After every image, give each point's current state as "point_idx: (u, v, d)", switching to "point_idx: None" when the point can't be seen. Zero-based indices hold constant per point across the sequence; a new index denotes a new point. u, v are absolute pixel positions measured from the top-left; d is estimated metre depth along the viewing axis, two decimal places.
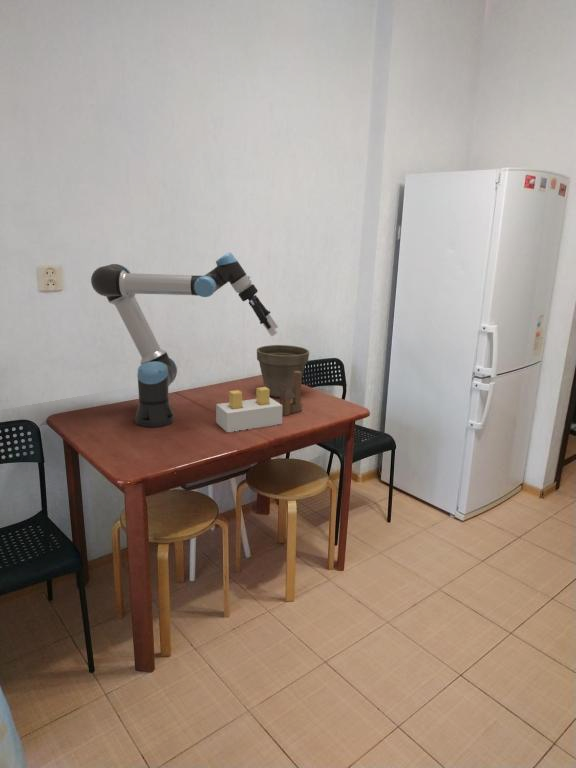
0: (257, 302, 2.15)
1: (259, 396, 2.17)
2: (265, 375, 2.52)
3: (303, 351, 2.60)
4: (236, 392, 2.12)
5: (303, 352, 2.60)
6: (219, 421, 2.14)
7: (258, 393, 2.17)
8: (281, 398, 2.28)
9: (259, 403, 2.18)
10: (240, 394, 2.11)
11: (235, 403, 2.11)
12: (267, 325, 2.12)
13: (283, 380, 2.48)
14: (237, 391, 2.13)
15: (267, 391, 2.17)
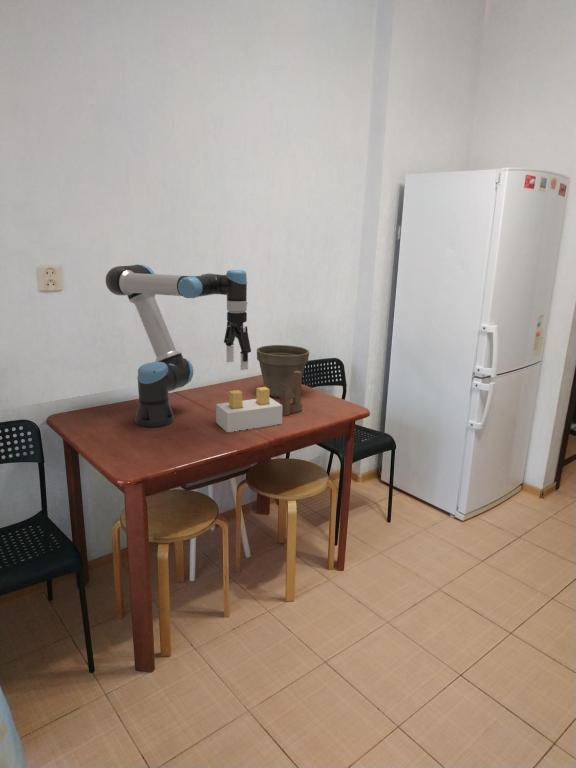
0: None
1: (259, 396, 2.17)
2: (265, 375, 2.52)
3: (303, 351, 2.60)
4: (236, 392, 2.12)
5: (303, 352, 2.60)
6: (219, 421, 2.14)
7: (258, 393, 2.17)
8: (281, 398, 2.28)
9: (259, 403, 2.18)
10: (240, 394, 2.11)
11: (235, 403, 2.11)
12: (245, 358, 2.02)
13: (283, 380, 2.48)
14: (237, 391, 2.13)
15: (267, 391, 2.17)
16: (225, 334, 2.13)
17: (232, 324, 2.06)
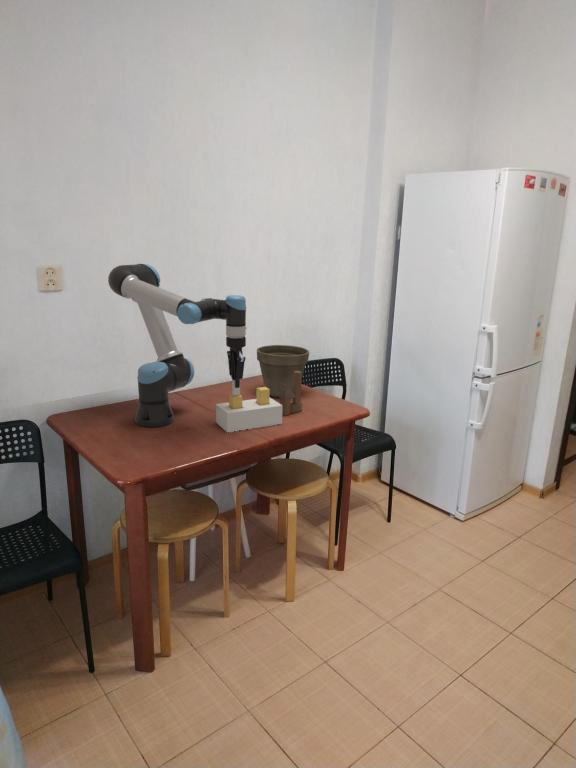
0: None
1: (259, 396, 2.17)
2: (265, 375, 2.52)
3: (303, 351, 2.60)
4: (236, 395, 2.12)
5: (303, 352, 2.60)
6: (219, 421, 2.14)
7: (258, 393, 2.17)
8: (281, 398, 2.28)
9: (259, 403, 2.18)
10: (240, 397, 2.12)
11: (235, 407, 2.12)
12: (237, 384, 2.10)
13: (283, 380, 2.48)
14: None
15: (267, 391, 2.17)
16: None
17: None
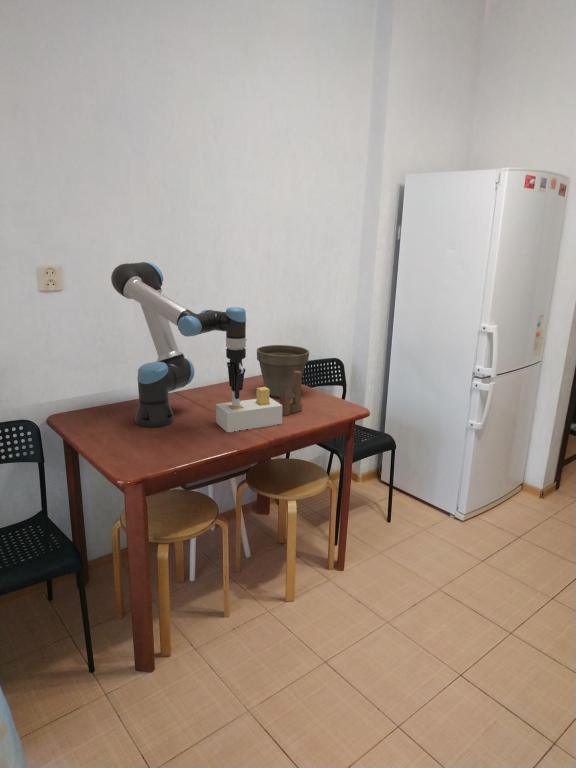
0: None
1: (259, 396, 2.17)
2: (265, 375, 2.52)
3: (303, 351, 2.60)
4: (236, 406, 2.14)
5: (303, 352, 2.60)
6: (219, 421, 2.14)
7: (258, 393, 2.17)
8: (281, 398, 2.28)
9: (259, 403, 2.18)
10: None
11: None
12: (237, 395, 2.11)
13: (283, 380, 2.48)
14: None
15: (267, 391, 2.17)
16: None
17: None
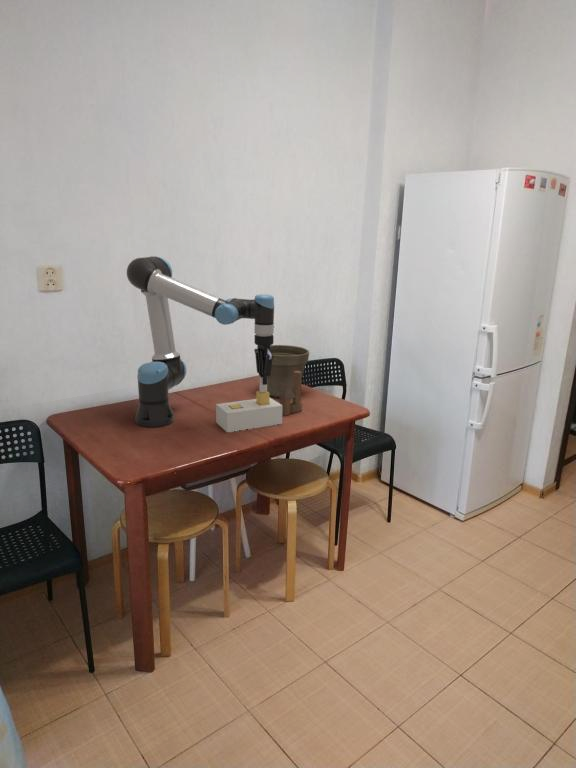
0: None
1: (259, 399, 2.17)
2: None
3: (303, 351, 2.60)
4: (236, 406, 2.14)
5: (303, 352, 2.60)
6: (219, 421, 2.14)
7: (258, 397, 2.18)
8: (281, 398, 2.28)
9: None
10: None
11: None
12: (265, 381, 2.15)
13: (283, 380, 2.48)
14: (237, 405, 2.15)
15: (267, 394, 2.17)
16: (256, 363, 2.18)
17: (258, 344, 2.14)
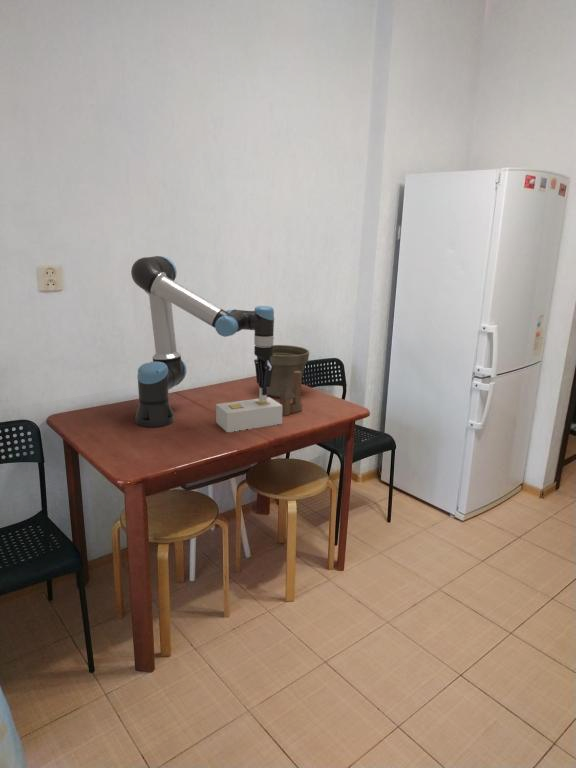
0: None
1: None
2: None
3: (303, 351, 2.60)
4: (236, 406, 2.14)
5: (303, 352, 2.60)
6: (219, 421, 2.14)
7: None
8: (281, 398, 2.28)
9: None
10: None
11: None
12: (265, 391, 2.16)
13: (283, 380, 2.48)
14: (237, 405, 2.15)
15: None
16: (256, 374, 2.19)
17: None
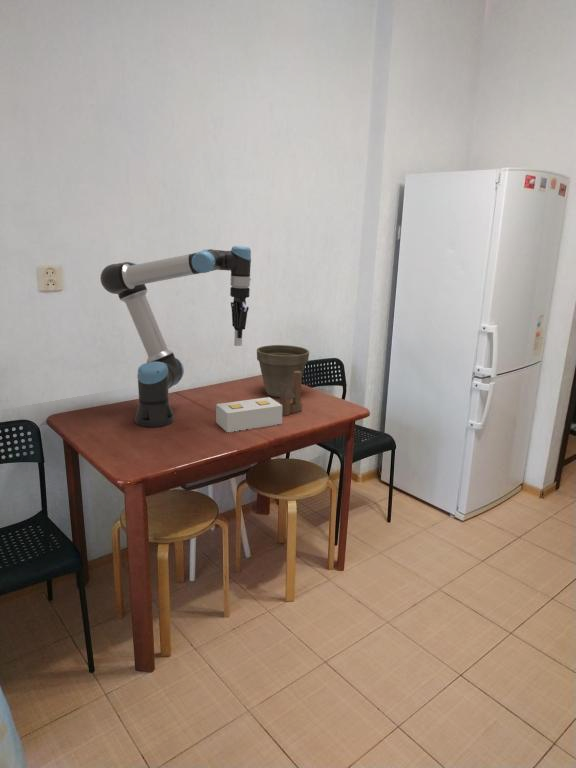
0: None
1: None
2: (265, 375, 2.52)
3: (303, 351, 2.60)
4: (236, 406, 2.14)
5: (303, 352, 2.60)
6: (219, 421, 2.14)
7: None
8: (281, 398, 2.28)
9: None
10: None
11: None
12: (240, 334, 2.14)
13: (283, 380, 2.48)
14: (237, 405, 2.15)
15: None
16: (232, 317, 2.17)
17: (234, 297, 2.13)
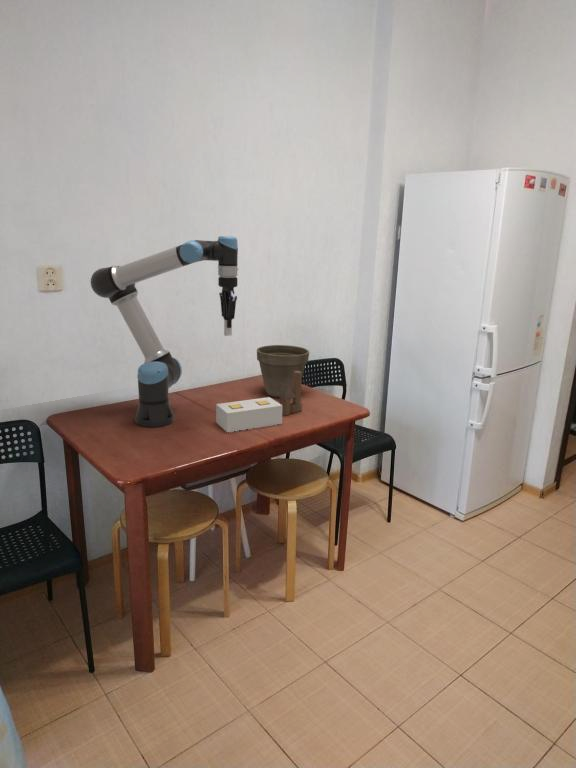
0: None
1: None
2: (265, 375, 2.52)
3: (303, 351, 2.60)
4: (236, 406, 2.14)
5: (303, 352, 2.60)
6: (219, 421, 2.14)
7: None
8: (281, 398, 2.28)
9: None
10: None
11: None
12: (229, 324, 2.15)
13: (283, 380, 2.48)
14: (237, 405, 2.15)
15: None
16: (221, 307, 2.18)
17: (223, 287, 2.14)
